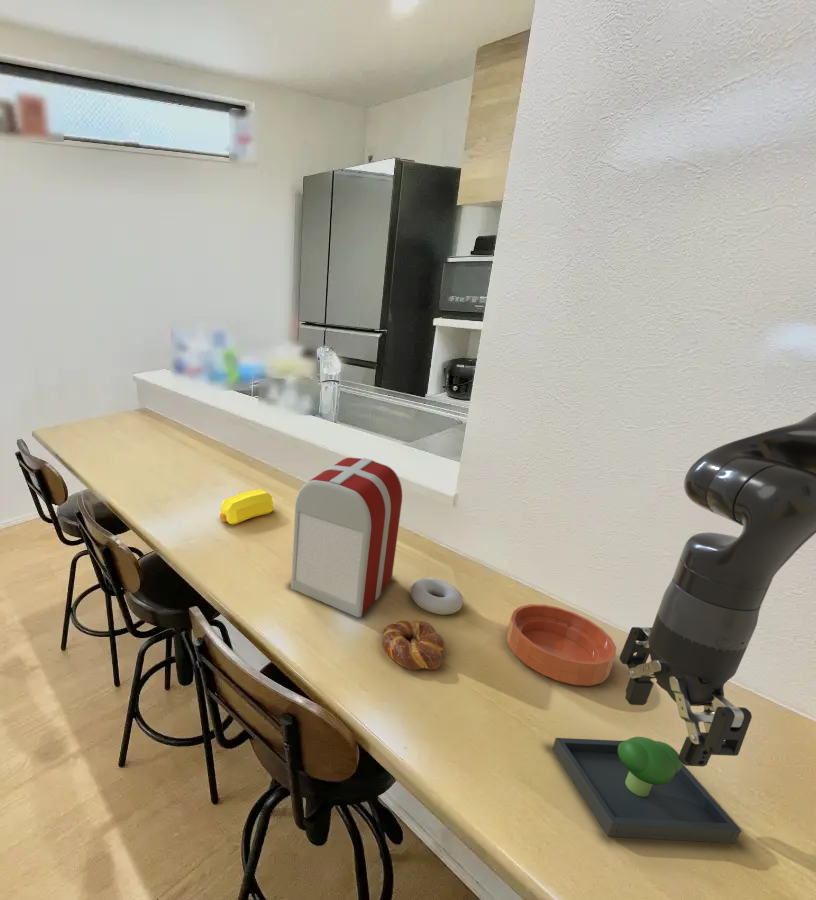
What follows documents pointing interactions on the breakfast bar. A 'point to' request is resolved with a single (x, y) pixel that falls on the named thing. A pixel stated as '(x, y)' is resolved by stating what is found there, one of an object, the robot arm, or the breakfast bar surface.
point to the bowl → (561, 644)
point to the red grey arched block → (347, 534)
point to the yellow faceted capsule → (246, 506)
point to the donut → (438, 605)
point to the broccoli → (648, 763)
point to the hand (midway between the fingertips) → (660, 730)
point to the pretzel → (413, 644)
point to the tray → (628, 815)
